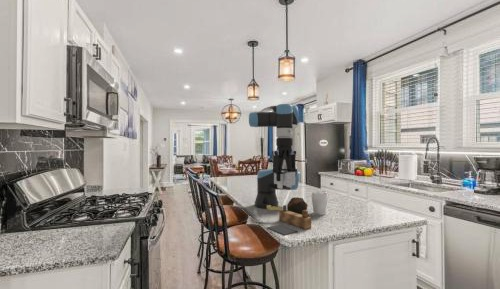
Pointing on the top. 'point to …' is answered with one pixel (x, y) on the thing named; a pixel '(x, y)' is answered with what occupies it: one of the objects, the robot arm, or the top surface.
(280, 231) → the mat
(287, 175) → the grey block
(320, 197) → the cup
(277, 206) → the lever
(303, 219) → the plane body
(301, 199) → the rock
